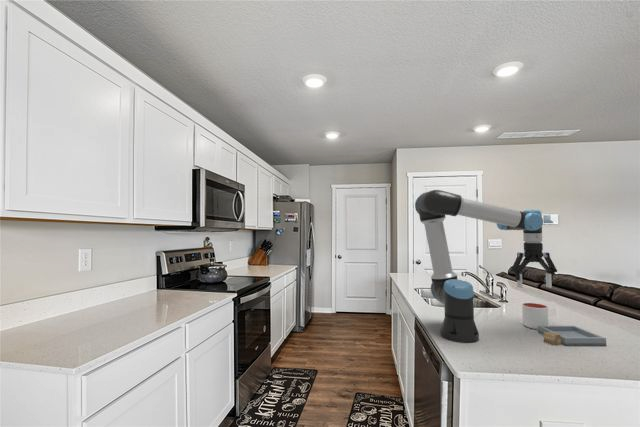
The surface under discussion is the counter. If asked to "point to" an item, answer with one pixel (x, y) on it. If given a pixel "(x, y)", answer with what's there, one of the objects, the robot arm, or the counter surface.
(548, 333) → the oak block
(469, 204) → the robot arm
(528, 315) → the cup
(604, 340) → the tray
